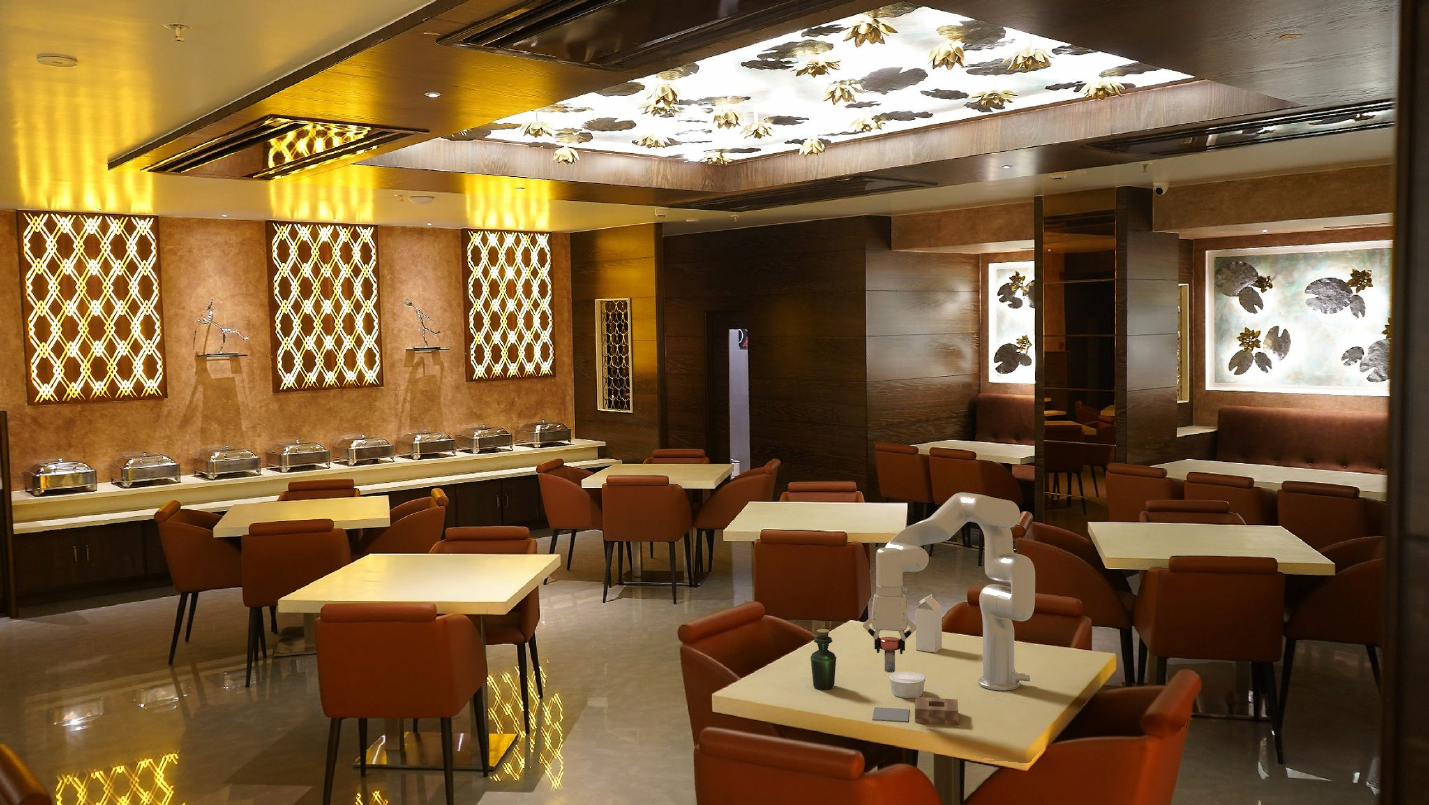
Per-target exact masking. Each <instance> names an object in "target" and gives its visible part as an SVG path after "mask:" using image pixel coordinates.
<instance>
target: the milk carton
mask: <svg viewBox="0 0 1429 805" xmlns="http://www.w3.org/2000/svg"><path fill="white" fill-rule="evenodd" d="M918 602H919V605H918V606H917V607H915V625H916V626H917V629H916V630H915V650H916V651H921V652H929V653H937V652H938V651H939V650H941V649H942V648H943V633H942V632H943V627H942V626H943V624H942V623H943V621H942V619H943V618H942V617H943V616H942V612H943V609H942V605H941V604H940V603H939V602H938V601H937V600H936V599H935V598H934V597H933V594H930V595H928V596H926V597H924V598H922V599H921V600H920V601H918Z"/></svg>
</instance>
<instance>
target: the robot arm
mask: <svg viewBox="0 0 1429 805" xmlns="http://www.w3.org/2000/svg"><path fill="white" fill-rule="evenodd" d="M1020 516H1021V512H1020V509H1019V506H1018V505H1017V503H1015V502H1014V501H1012V500H1008V499H1002V498H996V497H991V496H988V495H984V494H977V493H971V492H957V493H955V494H953V495H952V496H951V497H949V498H948V500H946V501H945V502H944V503H943V504H942V505H941V506H939V508H938V509H937V510H936V511H935V512H934V513H932V515H931V516H929V517H928V518H926V519H923V520H921V521H918V522H916V523H915V524H912V525H909V526H907V527H905V528H904V529H902V530H900V531H899V532H898V533H897V534H895V535H894V536H893V537H892V538H891V539H890V540H889V541H888V543H886V544H885V546H884V547H879V548H878V549H877V550H876V553H875V568H876V569H875V579H876V580H875V584H876V585H875V587H876V589H875V590H876V591H875V593H874V594H873V599H872V608H871V616H869V618H868V619H867V620H866V621H865V622H864V623H863V624H862V627H863V628H864V629H865V631H867V633H868V634H869V635H870V636H871V637H872V638H873V639H874V640H873V641H874V643H873V645H874V650H876V654H879V653H880V652H881V649H880V648H879V639H880V638H881V637H880V633H881V631H887V632H888V631H890V632H894V631H895V632H898V633H899V636H900V638H899V639H900V649H899V654H900V655H903V652H905V651H906V640H907V639H908V638H909V637H910V636H911V634H913V633H914V632H916V629H917V626H916V623H914V622H913V621H912V620H911V619H910V618H909V616H908V603H907V598H906V597H907V596H906V595H905V594H904V593H908V589H909V588H908V587H906V586H904V585H903V583H904V582H903V574H904V573H917V572H921V571H923V570H924V569H926V567H927V566H928V564H929V560H930V558H929V557H930V556H929V553H928V552H927V551H926V549H924V548H923V547H921V546H925V545H931V544H938V543H942V542H946V541H948V540H950V539H951V538H952V537H953V536H954V535H955V534H956V533H957V532H958V531H959V530H960V529H961V528H962V527H964V525H965V524H967V523H969V522H971V523H976V524H977V525H978V526H979V527H980V529H981V530H982V533H983V536H984V573H985V575H986V576H987V578H989V579H990V580H993V581H996V582H999V583H1006V584H1010V586H1006V585H1002V584H996V583H994V584H993V583H992V584H987V585H986V586H984V587H983V588H982V589H981V591H980V594H979V596H978V597H979V598H978V601H979V608H980V613H981V618H982V673H983V674H982V675H981V677H978V679H977V684H978V685H979V686H980V687H983V688H985V689H989V690H994V691H1012V690H1016V689H1018V688H1020V681H1021V682H1022V681H1023V682H1031V677H1030V674H1026V673H1025V672H1023V673H1018V672H1017V671H1016V668H1015V628H1014V624H1013V621H1016V622H1025V621H1028V620H1029V619H1030V618H1032V615H1033V614H1034V610H1035V603H1036V569H1035V565H1034V562H1033V561H1032V560H1031V558H1029V557H1028V556H1026V555H1023V554H1019V553H1015V551H1014V544H1013V543H1014V542H1013V540H1014V539H1013V533H1012V530H1011V528H1013V527H1015V526H1016V525H1017V523H1019V520H1020ZM870 625H871V627H870ZM908 627H910V628H909V629H908ZM907 629H908V630H907ZM906 630H907V631H906Z"/></svg>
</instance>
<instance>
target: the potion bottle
mask: <svg viewBox="0 0 1429 805" xmlns="http://www.w3.org/2000/svg"><path fill="white" fill-rule="evenodd" d="M816 633H817V636H815V637H814V640H813V642H814V643H815V644H817V648H818V650H816V651H813V652H812V653H811V655H810V658H809V659H810V664H811V676H812V686H813V687H814V688H815V689H816V690H819V691H820V690H821V691H827V690H831V689H833V688H835V680H836V669H837V668H836V666H837V656H836V654H835V653H834V652H832V651H831V650H830V649H829V645H830V644H831V643H833V639H832V637H831V636H829V633H830V630H829V629H826V628H824V629H823V628H820V629H817V630H816Z"/></svg>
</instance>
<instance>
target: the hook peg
mask: <svg viewBox="0 0 1429 805" xmlns="http://www.w3.org/2000/svg"><path fill="white" fill-rule="evenodd" d="M879 638H880V639H879V648H880V650H883V651H884V672H886V673H891V674H892V673H896V651H898V650H899V651H900V639H901V638H898V637H895V636H882V637H879Z"/></svg>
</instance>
